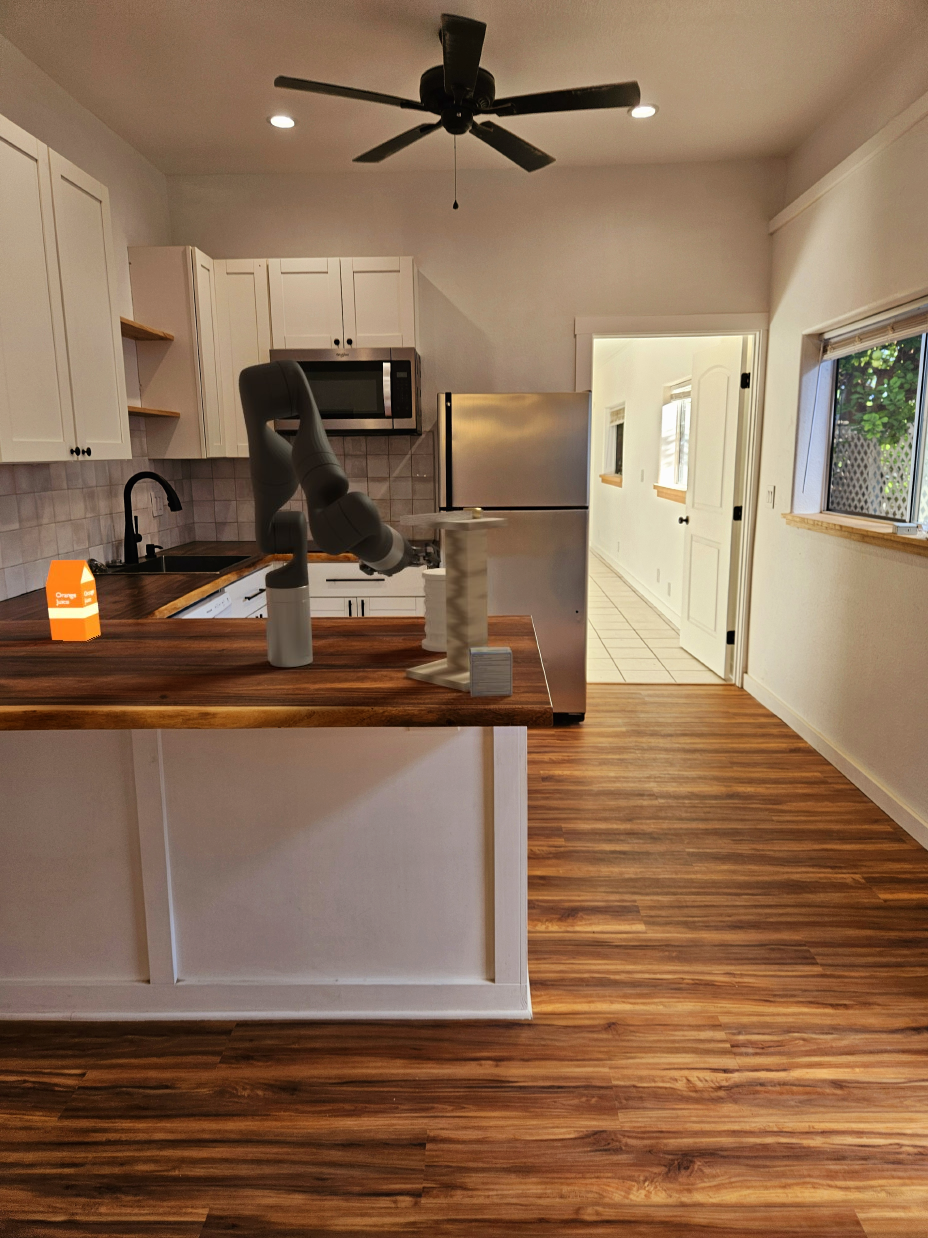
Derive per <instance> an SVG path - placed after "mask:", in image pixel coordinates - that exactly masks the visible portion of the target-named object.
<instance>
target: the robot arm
mask: <svg viewBox="0 0 928 1238" xmlns="http://www.w3.org/2000/svg"><path fill="white" fill-rule="evenodd" d="M238 376H239V377H238V392H239V397H240V402H241V403H240V404H241V408H242V413H243V419H244V425H245V429H246V435H247V443H248V444H247V446H248V459H249V461H248V462H249V474H250V481H251V482H250V483H251V487H252V495H253V500H254V535H255V537H254V538H255V543H256V546H257V547H258V550H259V551H260V552H261V553H262V554H264V555H269V556H270V555H271V556H272V555H277V556H278V555H292V558H291V560H290V561H288V562H287V563H285V564H284V565H281V566H280V567H278V568H276V569H272V570H270V571H268V572H267V573H266V574H265V575H264V580H265V581H264V582H265V597H266V598H265V600H266V610H267V611H266V614H267V619H265V628H266V629H265V631H266V646H267V661H268V662H270V665H272V667H273V666H274V667H279V668H293V667H296V668H297V667H300V666H301V667H302V666H305V665H308V664H311V663H313V661H314V660H313V659H314V658H313V656H314V655H313V639H312V617H311V599H310V598H311V597H310V582H309V581H310V580H309V579H310V577H309V569H308V565H309V564H308V526H309V531H310V534H311V537H312V540H313V543H315V545H316V547H317V548H319V550H320V551H322V552H323V553H324V554H326V555H329V556H334V557H336V556H340V555H342V554H344V553H345V552H349V553H350V554H351V555H353V556H354V557H356V558H358V568H359V570H360V571H361V572H363V573H364V574H365V575H367V576H374V575H375V573H377V575H380V576H382V575H383V576H386V577H388V578H391V577H393V576H394V575H396V574H399V573H400V572H402V571H403V570H404V569H406V568H409V567H410V568H420V567H422V566H426V567H428V569H436V567H438V564H440V563H442V558H441V557H442V556H441V550H440V548H439V547H437V546H436V545H434V544H433V543H431V542H427V541H426V542H424V544H423V547H420V546H419V547H418V546H412V545H411V544H410V542H409V541H408V539H407V538H406V537H405V536H403V535H402V534H401V533H400V532H399V531H397V530H395V529H394V528H393V527H392V526H390V525H388V524H386V523H385V522H382V521H381V517H380V514H379V510H378V508H377V506H376V505H375V503H374V501H373V500H372V499H371V498H370V496H368V495H367V494H366V493H364V492H363V491H362V492H361V491H356V490H355V491H350V492H349V489H350V483H349V479H348V477H347V474H346V473H345V470H344V469H343V467H342V465H341V463H340V461H339V459H338V457H337V456H336V454H335V452H334V450H333V448H332V446H331V444H330V441H329V439H328V436H327V433H326V429H325V427H324V423H323V421H322V420H323V419H322V417H321V414H320V412H319V409H318V406H317V403H316V400H315V397H314V394H313V391H312V389H311V386H310V383H309V381H308V379H307V376H306V373H305V372H304V370H303V368H302V367H301V366H300V364H299V363H298V362H297V361H295V360H294V359H281V360H275V361H270V362H264V363H260V364H255V365H254V364H253V365H251V366H248V367H245V368H243V369H242V370H241V371H240V372H239V375H238ZM296 415H299V424H298V429H297V432H296V434H295V438H294V440H293V445H291V443H289V442H288V441H287V440H286V439H285V438H284V437H283V436H281V434H278V433H277V432H276V431H275V430H273V429H272V428H271V427H270V426H269V424H268V423H269V422H272V421H275V420H280V419H285V418H288V417H289V418H290V417H294V416H296ZM299 487H301V489H302V491H303V494H304V496H305V501H306V509H307V518H306V515H305V514H304V512H303V511H300V510H280V509H281V508H282V507H284V506H285V505H286V504H287V503H289V501H290V500H291V499H292V498H293V497H294V495H295V494H296V493H297V491H298V488H299ZM307 520H308V522H307ZM424 559H425V560H424Z"/></svg>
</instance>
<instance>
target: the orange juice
mask: <svg viewBox="0 0 928 1238" xmlns="http://www.w3.org/2000/svg"><path fill="white" fill-rule="evenodd" d="M49 565H50V566H49V570H48V575H47V578H46V579H47V580H46V584H45V589H46V590H45V591H46V599H47V606H48V608H47V610H48V618H49V623H50V633H51V634H50V635H51V639H52V640H63V641H87V640H89V639H91V638H93V637H95V638H97V637H99V636H101V626H100V616H99V606H98V605H99V603H98V599H97V589H96V588H97V587H96V580H95V577H94V575H93V573H92V570H91V569H90V567H89V565H88V562H87V561H86V559H60V560H59V559H57V560H56V559H55V560H54V559H52V560H51V563H50V564H49ZM98 635H99V636H98ZM96 636H97V637H96ZM93 639H94V638H93ZM52 640H51V641H52ZM91 640H92V639H91ZM89 641H90V640H89ZM87 642H88V641H87Z"/></svg>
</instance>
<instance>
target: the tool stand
mask: <svg viewBox="0 0 928 1238" xmlns="http://www.w3.org/2000/svg"><path fill="white" fill-rule="evenodd" d="M509 523H510V519H509V518H503V517H501V518H499V517H484V516H483V518H481V519H468V520H458V521H448V522H438V523H428V524H418V525H415V526H416V527H415V528H420V529H436V530H437V529H438V530H444V553H445V554H444V555H445V557H444V559H445V560H444V561H445V565H444V566H445V567H444V568H445V572H446V634H447V652H446V657H445V658H443V659H439V660H436V661H431V662H428V663H425V664H421V665H418V666H413V667H410V668H407V669H405V677H406V678H410V679H414V680H418V681H423V682H426V683H429V684H433V685H434V684H435V685H438V686H442V687H446V688H451V689H454V690H458V691H459V690H460V691H463V692H466V691H469V690H470V668H469V649H470V648H480V647H489V646H488V641H489V640H488V636H489V635H488V633H489V632H488V530H489V529H497V528H505V527H506V528H507V527H509V525H510V524H509Z"/></svg>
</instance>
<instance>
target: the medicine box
mask: <svg viewBox="0 0 928 1238" xmlns="http://www.w3.org/2000/svg"><path fill="white" fill-rule="evenodd" d="M469 668H470V689H469V690H470V691H469V692H470V697H471V698H474V697H475V698H477V697H502V696H504V697H505V696H513V652H512V650H511V648H510V647H509V646H488V647H480V648H470V649H469Z"/></svg>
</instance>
